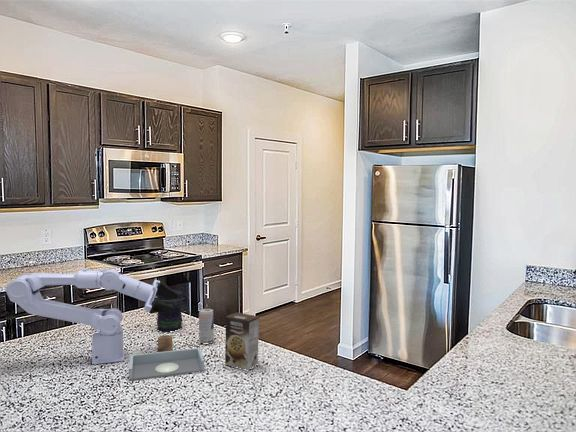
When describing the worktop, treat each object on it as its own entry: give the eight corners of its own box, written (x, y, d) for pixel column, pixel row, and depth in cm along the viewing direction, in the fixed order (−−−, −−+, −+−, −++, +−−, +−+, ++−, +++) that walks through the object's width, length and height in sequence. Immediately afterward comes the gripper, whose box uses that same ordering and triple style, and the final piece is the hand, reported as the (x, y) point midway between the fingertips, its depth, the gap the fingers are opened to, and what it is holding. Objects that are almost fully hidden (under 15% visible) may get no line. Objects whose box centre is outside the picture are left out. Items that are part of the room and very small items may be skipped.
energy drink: (215, 340, 156) (215, 308, 155) (211, 345, 150) (211, 312, 150) (201, 339, 156) (201, 308, 156) (196, 344, 151) (197, 312, 150)
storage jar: (155, 326, 171) (155, 290, 170) (179, 323, 175) (179, 288, 174) (158, 333, 162) (158, 296, 161) (184, 330, 166) (184, 294, 165)
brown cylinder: (157, 358, 138) (157, 340, 138) (157, 353, 142) (157, 336, 142) (172, 356, 139) (172, 339, 139) (171, 351, 144) (172, 334, 144)
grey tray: (129, 381, 121) (129, 369, 121) (130, 366, 131) (130, 355, 131) (204, 371, 128) (204, 360, 128) (199, 358, 138) (199, 347, 138)
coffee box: (224, 365, 133) (224, 316, 132) (235, 359, 138) (236, 311, 138) (248, 372, 128) (248, 320, 128) (259, 364, 134) (259, 315, 133)
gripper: (136, 293, 131) (176, 308, 135) (146, 268, 144) (183, 282, 147) (128, 309, 133) (168, 324, 137) (138, 283, 146) (175, 296, 150)
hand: (175, 303), depth 142 cm, fingers open, 7 cm apart
